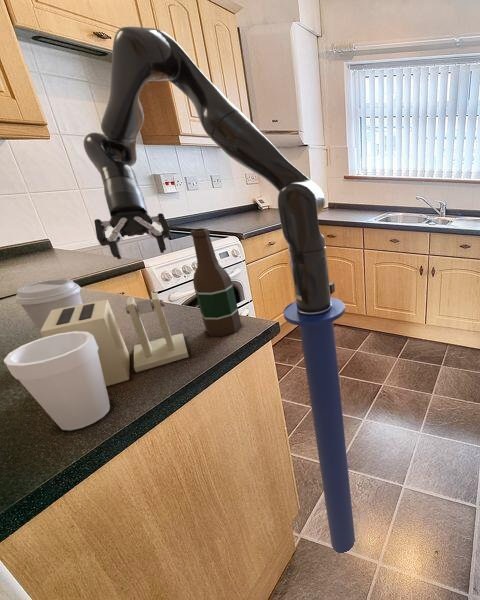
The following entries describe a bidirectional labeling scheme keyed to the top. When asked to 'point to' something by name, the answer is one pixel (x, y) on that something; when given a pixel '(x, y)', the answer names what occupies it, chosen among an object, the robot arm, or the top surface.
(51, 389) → the foam cup
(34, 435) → the top surface
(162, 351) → the lever bracket
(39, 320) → the coffee cup
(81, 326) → the toaster
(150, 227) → the robot arm
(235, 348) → the top surface
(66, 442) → the top surface
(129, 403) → the top surface
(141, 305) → the lever
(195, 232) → the beer bottle
